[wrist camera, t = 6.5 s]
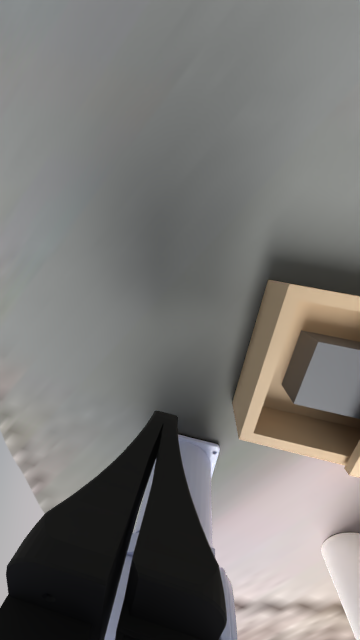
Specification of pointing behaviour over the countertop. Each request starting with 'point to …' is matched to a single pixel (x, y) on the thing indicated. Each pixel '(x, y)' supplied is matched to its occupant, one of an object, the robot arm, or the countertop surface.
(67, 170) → the countertop surface
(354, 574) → the cylindrical container
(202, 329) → the countertop surface
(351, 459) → the lid
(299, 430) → the mailer box
